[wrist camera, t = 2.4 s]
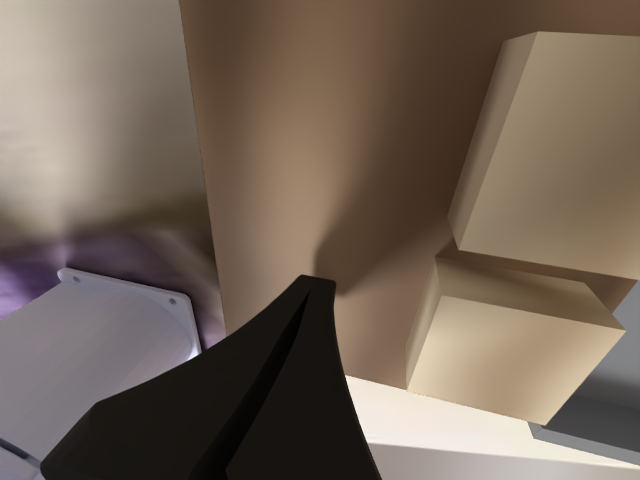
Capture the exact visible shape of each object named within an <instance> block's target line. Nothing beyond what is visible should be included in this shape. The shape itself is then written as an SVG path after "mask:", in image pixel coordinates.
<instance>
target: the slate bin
mask: <svg viewBox="0 0 640 480" xmlns="http://www.w3.org/2000/svg"><path fill="white" fill-rule="evenodd" d="M612 315H613V316H614V317H615V318H616V319H617V320H618V322H619V323H620V324H621V325H622V326H623V327H624V328H625V329H626V332H625V333H624V334H623V336H622V337H621V338H620V339H619V340H618V341H617V343H616V344H615V345H614V346H613V347H612V348H611V350H610V351H609V352H608V353H607V354H606V355H605V357H604V358H603V359H602V360H601V361H600V362H599V364H598V365H597V366H596V367H595V368H594V369H593V371H592V372H591V373H590V374H589V375H588V376H587V378H586V379H585V380H584V381H583V382H582V383H581V385H580V386H579V387H578V388H577V389H576V390H575V391H574V393H573V394H572V395H571V396H570V397H569V398H568V400H567V401H566V402H565V403H564V404H563V405H562V407H561V408H560V409H559V410H558V411H557V412H556V414H555V415H554V416H553V417H552V418H551V419H550V421H549V422H548V423H547V424H546V425H541V424H537V423H533V422H529V421H527V422H528V425H529V427H530V430H531V433H532V435H533V438H534V439H538V440H542V441H546V442H549V443H553V444H557V445H561V446H565V447H569V448H573V449H577V450H581V451H585V452H589V453H593V454H596V455H600V456H604V457H608V458H612V459H616V460H620V461H624V462H628V463H632V464H636V465H639V466H640V280H638V281H637V283H636V284H635V285H634V286H633V288H632V289H631V290H630V292H629V293H628V294H627V295H626V297H625V298H624V299H623V300H622V302H621V303H620V304H619V306H618V307H617V308H616V309H615V311H614V312H613V313H612Z"/></svg>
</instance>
